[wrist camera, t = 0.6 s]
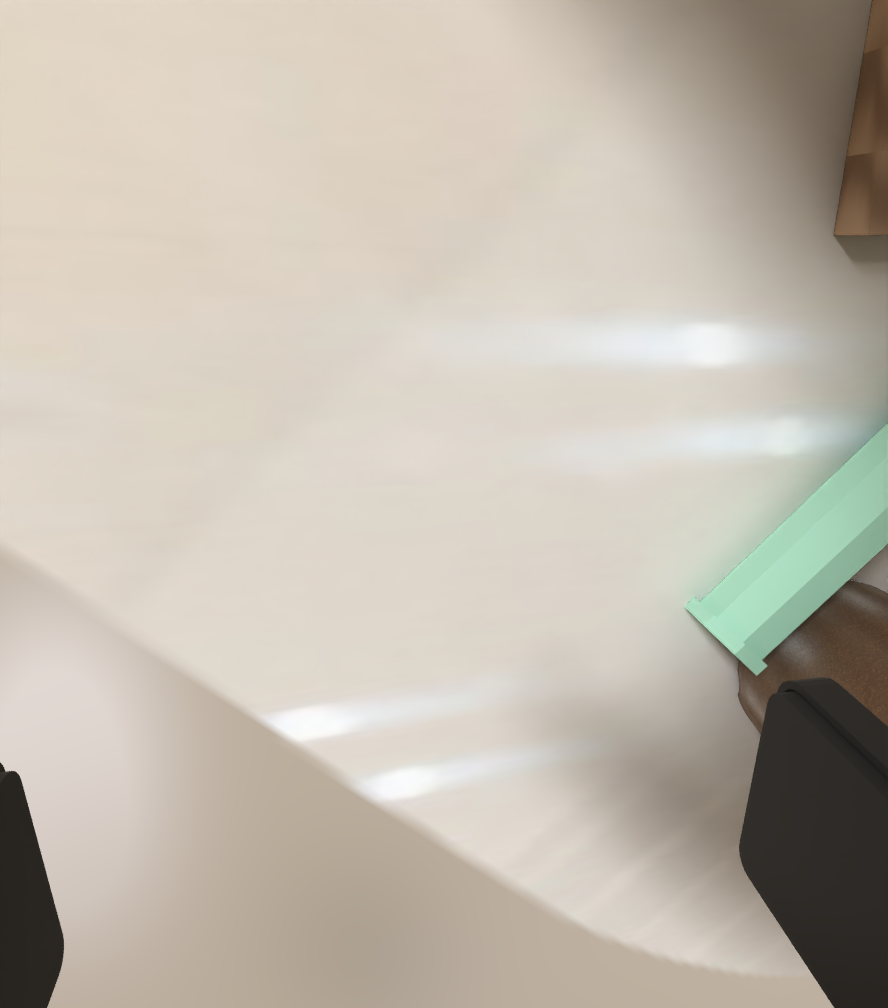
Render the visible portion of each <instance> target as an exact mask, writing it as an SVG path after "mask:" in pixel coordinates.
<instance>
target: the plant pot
mask: <svg viewBox="0 0 888 1008" xmlns="http://www.w3.org/2000/svg"><path fill="white" fill-rule="evenodd" d="M762 661H763V662H764V663H765V664H766V665H767V667H766V668H765V669H764V670H763V671H762V672H760V673H759V674H758V675H757V676H756V675H755V674H754V673H753V672H752V671H751V670H750V669H749V668H748V667H747V666H746V665H745V664H744V663H742V662H741V661H740V662H739V666H738V675H739V680H740V690H739V693H738V697H739V700H740V703H741V705H742V707H743V709H744V711H745V712H746V714H747V716H748V717H749V718H750V720H751V721H752V722H753V724H754V725H755V726H756V728H757V729H758V731H759V732H760V733H761V732H762V727H763V722H764V717H765V712H766V707H767V703H768V700H769V697H770V696H771V695H772V694H775V693H777V690H778V688H779V686H780V685H781V684H782V683H783V682H786V681H790V680H800V679H810V678H820V677H826V678H831V679H833V680H834V681H836V682H837V683H839V684H840V685H841V686H842V687H843V688H844V689H845V690H847V691H848V692H849V693H850V694H851V695H852V696H853V697H855V698H856V699H857V700H858V701H859V702H860V703H862V704H863V705H864V706H865V707H866V708H867V709H868V710H870V711H871V712H872V713H873V714H874V715H875V716H876V717H878V718H879V719H880V720H881V721H882V722H883V723H884V724H886V725H887V726H888V593H886V592H884V591H882V590H880V589H878V588H876V587H873V586H871V585H867V584H863V583H858V582H846V583H845V584H844V585H843V586H842V587H840V588H839V589H838V590H837V591H836V592H835V593H834V594H833V595H832V596H831V597H830V598H829V599H827V600H826V601H825V602H824V603H823V604H822V605H821V606H820V607H819V608H818V609H817V610H816V611H814V612H813V613H812V614H811V615H810V616H809V617H808V618H807V619H806V620H805V621H804V622H803V623H801V624H800V625H799V626H798V627H797V628H796V629H795V630H794V631H793V632H792V633H791V634H790V635H788V636H787V637H786V638H785V639H784V640H783V641H782V642H781V643H780V644H779V645H778V646H777V647H775V648H774V649H773V650H772V651H771V652H770V653H769V654H768V655H767V656H766V657H765V658H764V659H762Z"/></svg>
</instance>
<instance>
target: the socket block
mask: <svg viewBox="0 0 888 1008" xmlns="http://www.w3.org/2000/svg"><path fill="white" fill-rule="evenodd" d="M834 235H888V0H872V6H871V12H870V18H869V24H868V30H867V36H866V42H865V49H864V55H863V61H862V67H861V73H860V79H859V85H858V91H857V97H856V103H855V109H854V115H853V121H852V127H851V133H850V139H849V146H848V152H847V158H846V164H845V170H844V176H843V182H842V188H841V194H840V200H839V206H838V212H837V218H836V224H835V230H834Z"/></svg>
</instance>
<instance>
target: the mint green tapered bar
mask: <svg viewBox="0 0 888 1008" xmlns="http://www.w3.org/2000/svg"><path fill="white" fill-rule="evenodd" d="M887 544H888V423H887V424H886V425H885V426H884V427H883V428H882V429H881V430H880V431H879V432H877V433H876V434H875V435H874V436H873V437H872V438H871V439H870V440H869V441H868V442H867V443H866V444H865V445H864V446H863V447H862V448H861V449H860V450H859V451H858V452H857V453H855V454H854V455H853V456H852V457H851V458H850V459H849V460H848V461H847V462H846V463H845V464H844V465H843V466H842V467H841V468H840V469H839V470H838V471H837V472H836V473H835V474H834V475H832V476H831V477H830V478H829V479H828V480H827V481H826V482H825V483H824V484H823V485H822V486H821V487H820V488H819V489H818V490H817V491H816V492H815V493H814V494H813V495H812V496H810V497H809V498H808V499H807V500H806V501H805V502H804V503H803V504H802V505H801V506H800V507H799V508H798V509H797V510H796V511H795V512H794V513H793V514H792V515H791V516H790V517H788V518H787V519H786V520H785V521H784V522H783V523H782V524H781V525H780V526H779V527H778V528H777V529H776V530H775V531H774V532H773V533H772V534H771V535H770V536H769V537H768V538H766V539H765V540H764V541H763V542H762V543H761V544H760V545H759V546H758V547H757V548H756V549H755V550H754V551H753V552H752V553H751V554H750V555H749V556H748V557H747V558H746V559H744V560H743V561H742V562H741V563H740V564H739V565H738V566H737V567H736V568H735V569H734V570H733V571H732V572H731V573H730V574H729V575H728V576H727V577H726V578H725V579H724V580H722V581H721V582H720V583H719V584H718V585H717V586H716V587H715V588H714V589H713V590H712V591H711V592H710V593H709V594H708V595H707V596H706V597H705V598H704V599H703V600H702V601H701V602H700V601H698V600H697V599H696V598H695V597H694V598H693V599H691V600H690V601H689V602H688V603H687V604H686V605H685V606H684V607H685V608H686V609H687V610H688V611H689V612H690V613H691V614H692V615H693V616H694V617H695V618H696V619H697V620H698V621H700V622H701V623H702V624H703V625H704V626H705V627H706V628H707V629H708V630H709V631H710V632H711V633H712V634H713V635H714V636H715V637H716V638H717V639H718V640H719V641H720V642H721V643H722V644H723V645H724V646H726V647H727V648H728V649H729V650H730V651H731V652H732V653H733V654H734V655H735V656H736V657H737V658H738V659H739V660H740V661H741V662H742V663H744V664H745V665H746V666H747V667H748V668H749V669H750V670H751V671H752V672H753V673H754V674H755V675H756V676H757V675H758V674H759V673H760V672H762V671H763V670H764V669H765V668H766V667H767V665H766V664H765V663H764V662H763V661H762V659H764V658H765V657H766V656H767V655H768V654H769V653H770V652H771V651H772V650H773V649H774V648H775V647H777V646H778V645H779V644H780V643H781V642H782V641H783V640H784V639H785V638H786V637H787V636H788V635H790V634H791V633H792V632H793V631H794V630H795V629H796V628H797V627H798V626H799V625H800V624H801V623H803V622H804V621H805V620H806V619H807V618H808V617H809V616H810V615H811V614H812V613H813V612H814V611H816V610H817V609H818V608H819V607H820V606H821V605H822V604H823V603H824V602H825V601H826V600H827V599H829V598H830V597H831V596H832V595H833V594H834V593H835V592H836V591H837V590H838V589H839V588H840V587H842V586H843V585H844V584H845V583H846V582H847V581H848V580H849V579H850V578H851V577H852V576H853V575H855V574H856V573H857V572H858V571H859V570H860V569H861V568H862V567H863V566H864V565H865V564H866V563H868V562H869V561H870V560H871V559H872V558H873V557H874V556H875V555H876V554H877V553H878V552H879V551H881V550H882V549H883V548H884V547H885V546H886V545H887Z"/></svg>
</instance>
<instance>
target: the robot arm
mask: <svg viewBox="0 0 888 1008" xmlns="http://www.w3.org/2000/svg"><path fill="white" fill-rule="evenodd" d="M739 851H740V858H741V862H742V865H743V868H744V870H745V872H746V874H747V876H748V877H749V879H750V880H751V882H752V883H753V885H754V887H755V888H756V890H757V891H758V893H759V894H760V896H761V897H762V899H763V900H764V902H765V903H766V905H767V906H768V908H769V909H770V911H771V912H772V914H773V915H774V917H775V918H776V920H777V921H778V923H779V924H780V926H781V928H782V929H783V931H784V932H785V934H786V935H787V937H788V938H789V940H790V941H791V943H792V944H793V946H794V947H795V949H796V950H797V952H798V953H799V955H800V956H801V958H802V959H803V961H804V962H805V964H806V965H807V967H808V968H809V970H810V972H811V973H812V975H813V976H814V978H815V979H816V981H817V982H818V984H819V985H820V987H821V988H822V990H823V991H824V993H825V994H826V996H827V997H828V999H829V1000H830V1002H831V1003H832V1005H833V1006H834V1008H888V726H887V725H886V724H884V723H883V722H882V721H881V720H880V719H879V718H878V717H876V716H875V715H874V714H873V713H872V712H871V711H870V710H868V709H867V708H866V707H865V706H864V705H863V704H862V703H860V702H859V701H858V700H857V699H856V698H855V697H853V696H852V695H851V694H850V693H849V692H848V691H847V690H845V689H844V688H843V687H842V686H841V685H840V684H839V683H837V682H836V681H834V680H833V679H831V678H826V677H820V678H810V679H800V680H790V681H786V682H783V683H782V684H781V685H780V686H779V688H778V690H777V693H775V694H772V695H771V696H770V697H769V700H768V703H767V707H766V712H765V717H764V722H763V727H762V732H761V737H760V743H759V748H758V753H757V758H756V763H755V768H754V773H753V778H752V783H751V788H750V793H749V798H748V803H747V808H746V813H745V818H744V824H743V829H742V834H741V839H740V845H739ZM63 953H64V939H63V933H62V930H61V926H60V922H59V919H58V915H57V911H56V908H55V904H54V900H53V897H52V893H51V889H50V885H49V882H48V878H47V874H46V871H45V867H44V863H43V859H42V855H41V852H40V848H39V844H38V841H37V837H36V833H35V829H34V826H33V822H32V818H31V815H30V811H29V807H28V803H27V800H26V796H25V792H24V789H23V785H22V782H21V779H20V776H19V775H18V774H17V772H15V771H9V772H5V769H4V767H3V765H2V764H1V763H0V1008H47V1006H48V1004H49V1001H50V998H51V995H52V993H53V990H54V987H55V984H56V982H57V979H58V976H59V973H60V970H61V966H62V961H63Z"/></svg>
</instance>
